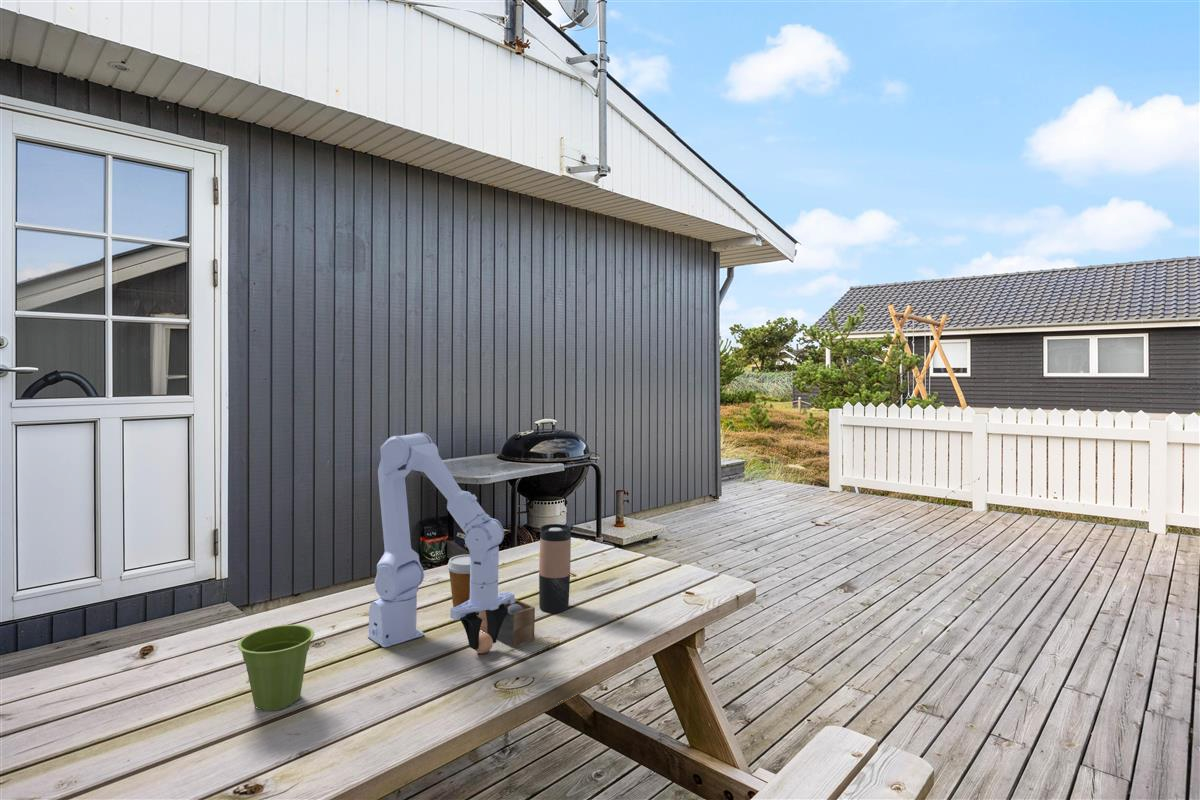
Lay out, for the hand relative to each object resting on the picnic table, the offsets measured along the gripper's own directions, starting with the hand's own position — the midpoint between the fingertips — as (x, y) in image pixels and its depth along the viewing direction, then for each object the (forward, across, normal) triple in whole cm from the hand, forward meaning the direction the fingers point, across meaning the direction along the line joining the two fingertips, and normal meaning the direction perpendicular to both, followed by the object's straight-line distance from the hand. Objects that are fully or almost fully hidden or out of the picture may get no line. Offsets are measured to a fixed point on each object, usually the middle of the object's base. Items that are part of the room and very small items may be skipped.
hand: (482, 644), depth 133 cm
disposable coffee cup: (+2, +12, +23) cm, 26 cm away
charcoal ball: (-3, +9, +2) cm, 10 cm away
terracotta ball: (+2, 0, 0) cm, 2 cm away
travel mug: (+2, +28, +9) cm, 29 cm away
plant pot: (+2, -38, +8) cm, 38 cm away
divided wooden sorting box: (+2, +9, +4) cm, 10 cm away
